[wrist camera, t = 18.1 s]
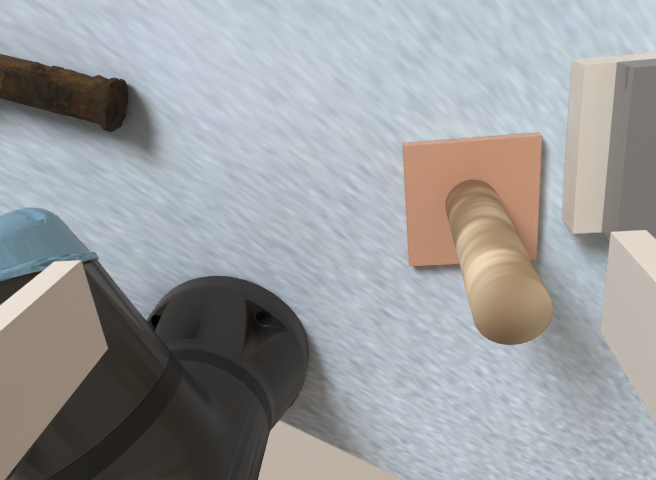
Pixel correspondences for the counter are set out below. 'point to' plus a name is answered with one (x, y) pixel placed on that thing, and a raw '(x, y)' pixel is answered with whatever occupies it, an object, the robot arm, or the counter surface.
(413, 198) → the rest tile
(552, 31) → the counter surface
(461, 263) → the wooden cylinder
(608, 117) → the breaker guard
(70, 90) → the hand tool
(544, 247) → the counter surface
